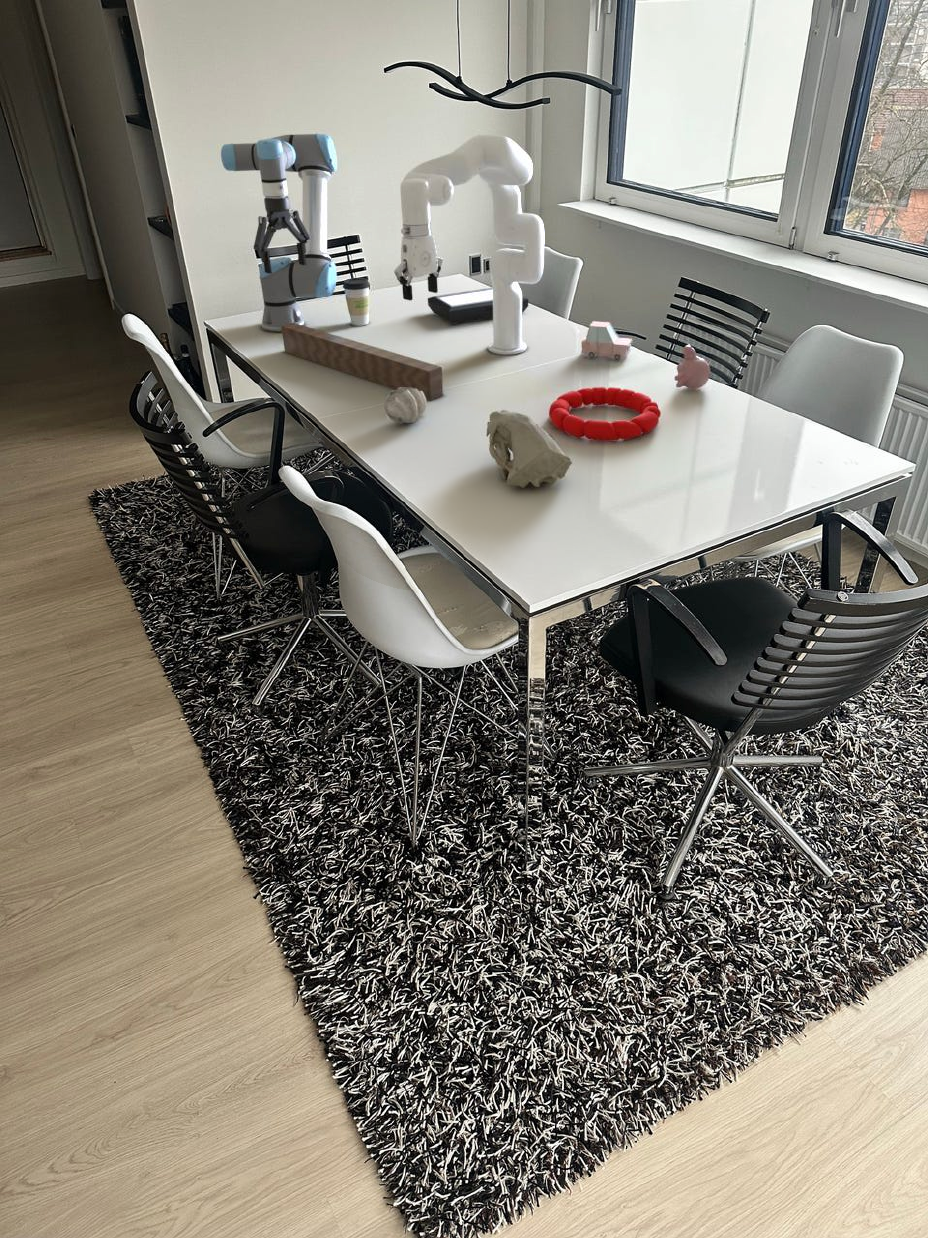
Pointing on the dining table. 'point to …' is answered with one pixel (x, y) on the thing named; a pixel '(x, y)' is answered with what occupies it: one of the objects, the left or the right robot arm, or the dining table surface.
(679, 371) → the figurine
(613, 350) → the toy car
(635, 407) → the decorative ring
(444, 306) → the electronic device
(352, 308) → the coffee cup
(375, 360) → the post
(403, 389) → the seashell
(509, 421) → the animal skull
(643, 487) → the dining table surface
